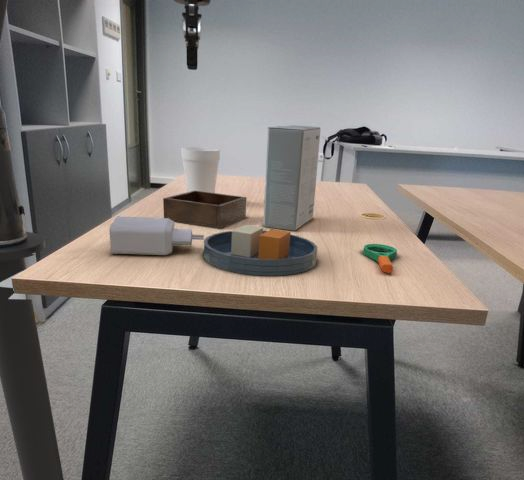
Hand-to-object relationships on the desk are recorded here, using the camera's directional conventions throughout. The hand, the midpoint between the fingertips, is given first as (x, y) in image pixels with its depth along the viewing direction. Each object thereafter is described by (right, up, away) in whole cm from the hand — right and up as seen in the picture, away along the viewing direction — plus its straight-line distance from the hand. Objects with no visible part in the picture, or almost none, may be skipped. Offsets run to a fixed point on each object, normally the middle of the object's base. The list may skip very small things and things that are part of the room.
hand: (192, 68), depth 101 cm
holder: (+2, -31, +5) cm, 31 cm away
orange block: (+17, -45, -21) cm, 52 cm away
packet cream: (+12, -43, -19) cm, 49 cm away
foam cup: (-1, -22, +22) cm, 31 cm away
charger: (-3, -43, -19) cm, 47 cm away
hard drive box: (+21, -31, +7) cm, 38 cm away
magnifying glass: (+36, -45, -17) cm, 60 cm away
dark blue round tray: (+15, -45, -20) cm, 51 cm away
